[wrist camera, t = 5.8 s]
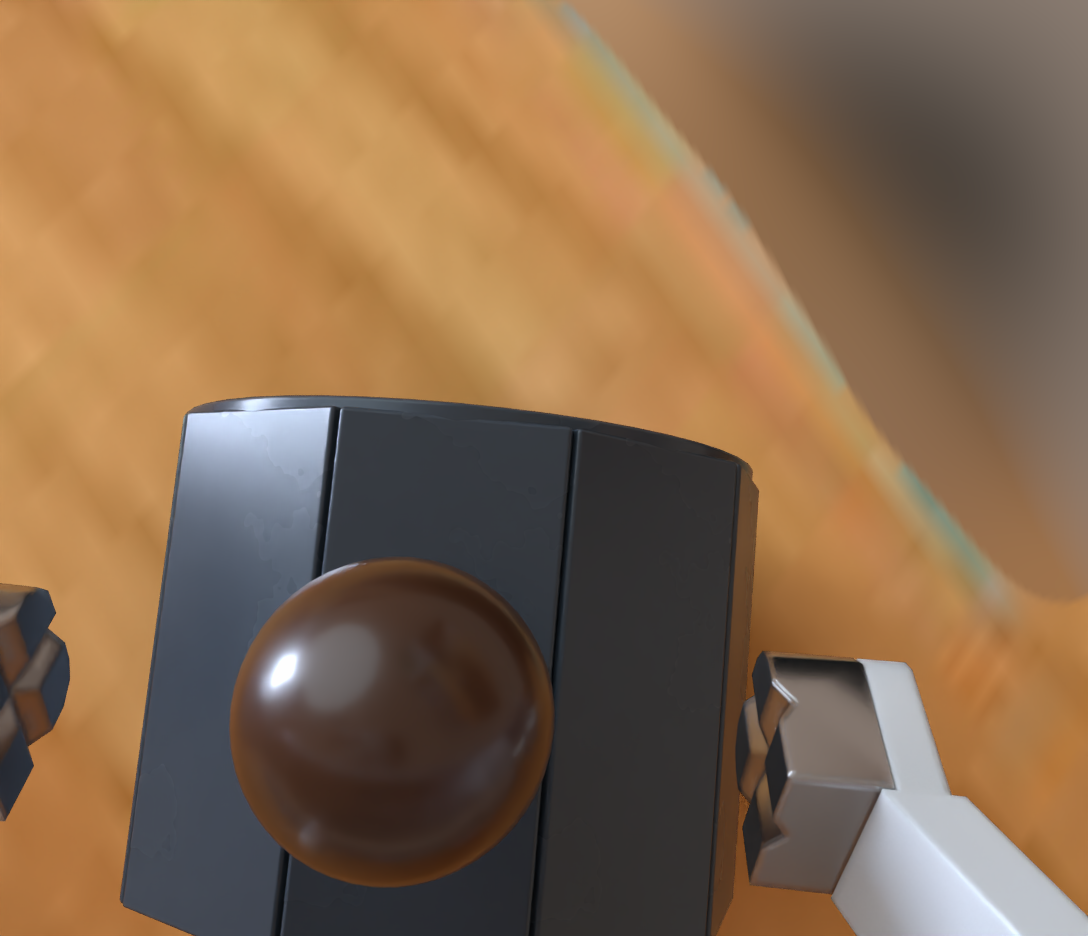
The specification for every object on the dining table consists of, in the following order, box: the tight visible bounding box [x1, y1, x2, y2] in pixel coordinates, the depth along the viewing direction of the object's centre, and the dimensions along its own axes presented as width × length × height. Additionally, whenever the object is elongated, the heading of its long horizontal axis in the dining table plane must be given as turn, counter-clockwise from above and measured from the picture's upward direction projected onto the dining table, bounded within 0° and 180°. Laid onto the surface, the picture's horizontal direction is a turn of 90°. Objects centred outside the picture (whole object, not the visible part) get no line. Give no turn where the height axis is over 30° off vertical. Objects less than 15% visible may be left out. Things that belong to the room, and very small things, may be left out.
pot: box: [120, 395, 759, 936], centre depth 17 cm, size 8×11×17 cm
